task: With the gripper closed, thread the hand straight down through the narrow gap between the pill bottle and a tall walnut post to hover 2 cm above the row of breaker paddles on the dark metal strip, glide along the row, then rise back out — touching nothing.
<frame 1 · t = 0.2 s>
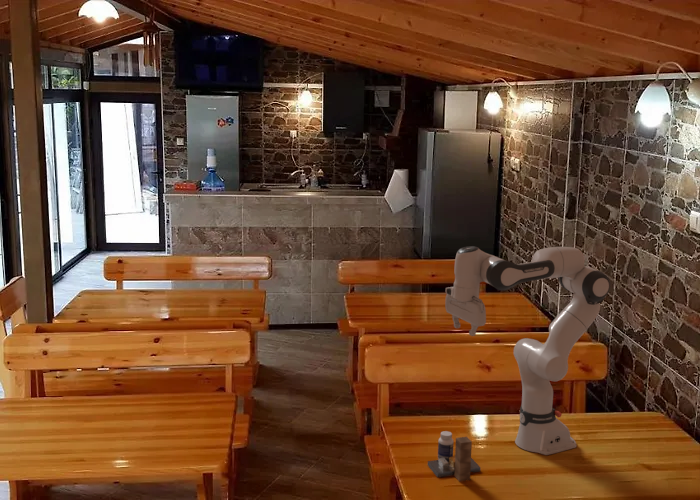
hand: (464, 331, 266), 47 cm above the table, fingers open, 8 cm apart
walnut post: (462, 477, 259), on the table
breaker strip: (453, 468, 265), on the table
pill bottle: (445, 459, 272), on the table
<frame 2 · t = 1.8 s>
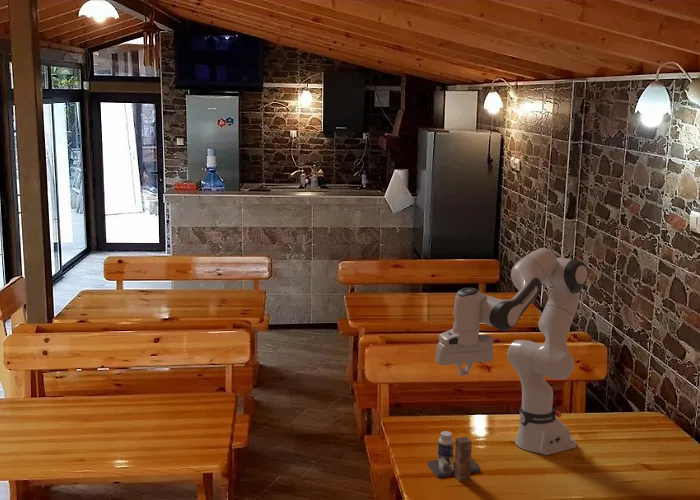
hand: (463, 374, 259), 34 cm above the table, fingers closed
nothing on the table moved.
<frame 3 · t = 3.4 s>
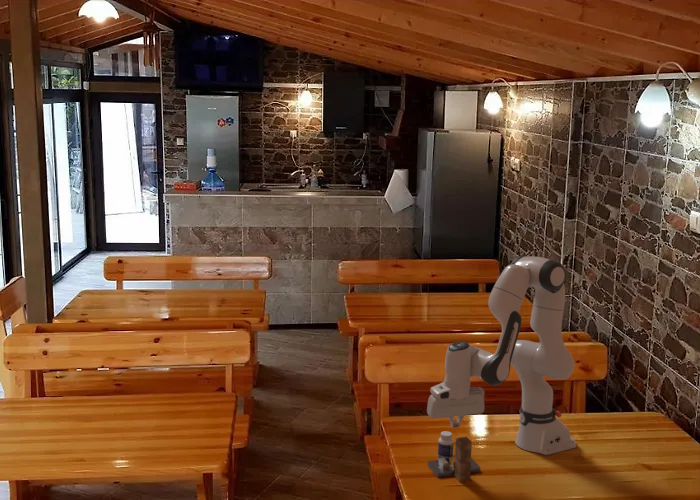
hand: (455, 426, 262), 16 cm above the table, fingers closed
nothing on the table moved.
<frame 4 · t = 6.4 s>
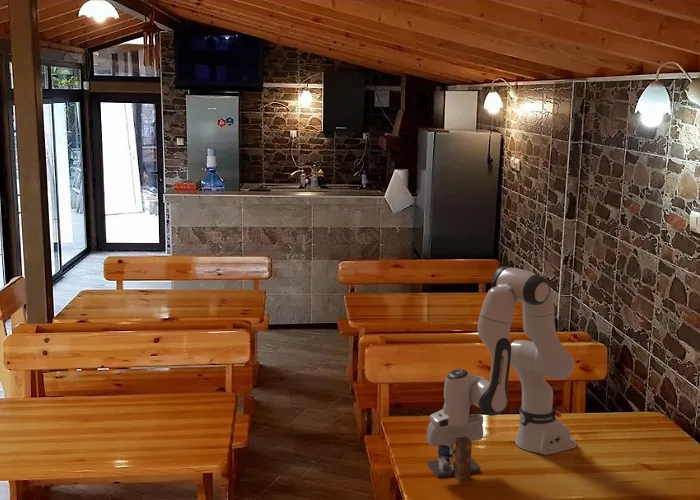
hand: (454, 453, 264), 6 cm above the table, fingers closed
nothing on the table moved.
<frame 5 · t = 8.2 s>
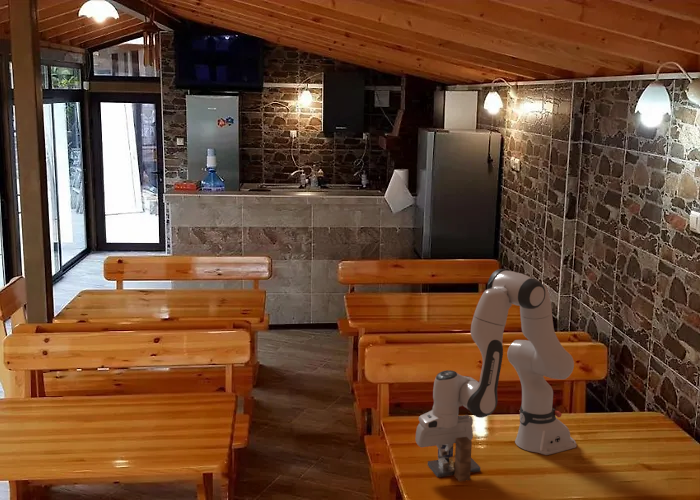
hand: (443, 454, 263), 6 cm above the table, fingers closed
nothing on the table moved.
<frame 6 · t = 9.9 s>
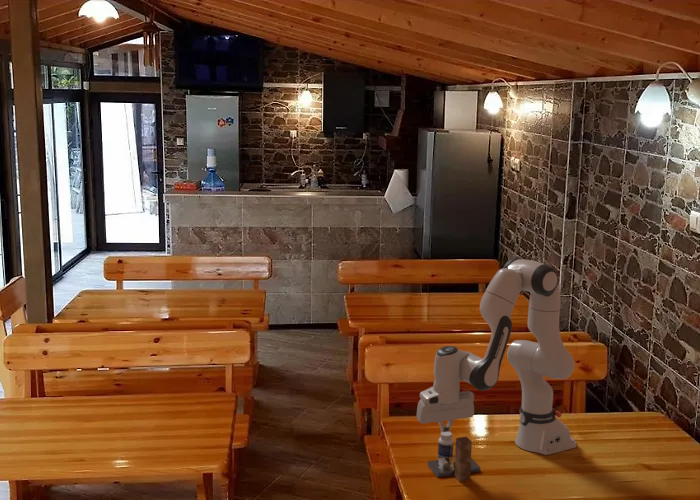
hand: (445, 431, 261), 14 cm above the table, fingers closed
nothing on the table moved.
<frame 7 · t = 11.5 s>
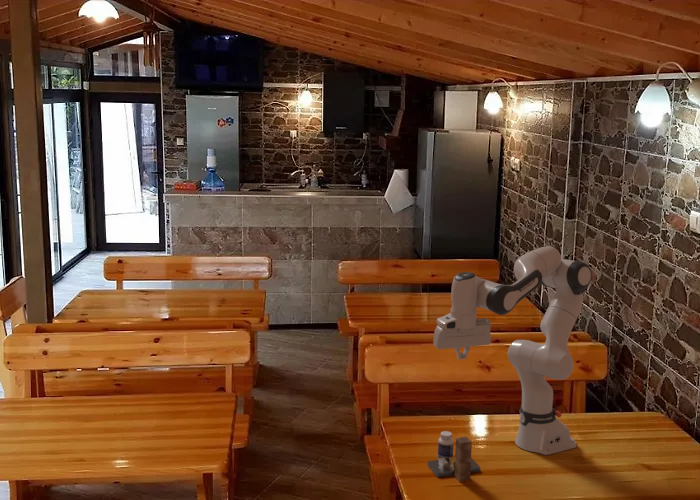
hand: (461, 358, 261), 39 cm above the table, fingers closed
nothing on the table moved.
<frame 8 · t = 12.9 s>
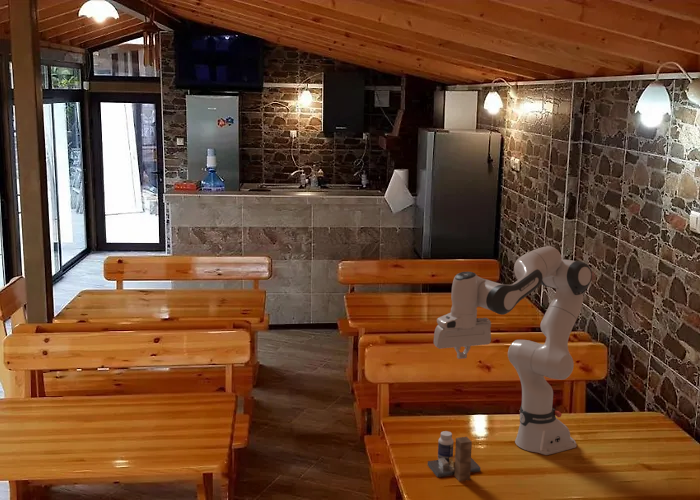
hand: (461, 358, 261), 39 cm above the table, fingers closed
nothing on the table moved.
at the end: pill bottle moved 0.2 cm from its start; pill bottle tilted 0°; walnut post moved 0.0 cm from its start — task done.
